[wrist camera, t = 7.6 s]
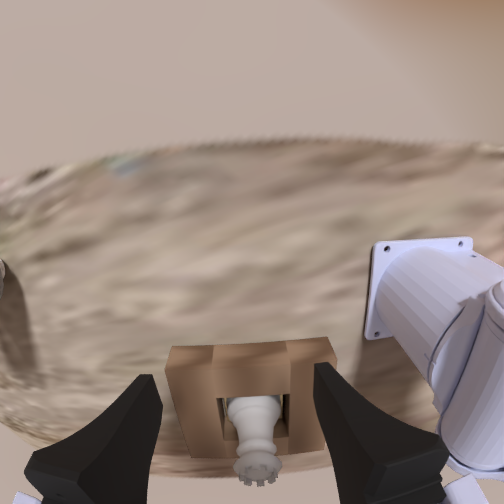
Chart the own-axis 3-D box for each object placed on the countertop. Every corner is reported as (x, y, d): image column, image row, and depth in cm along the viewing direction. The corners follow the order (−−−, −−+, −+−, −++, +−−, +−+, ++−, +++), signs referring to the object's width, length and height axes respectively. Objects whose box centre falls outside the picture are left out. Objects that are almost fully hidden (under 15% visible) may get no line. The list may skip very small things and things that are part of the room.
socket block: (327, 336, 23) (337, 359, 21) (317, 427, 27) (323, 449, 24) (171, 346, 23) (164, 369, 20) (194, 434, 27) (191, 458, 24)
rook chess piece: (251, 423, 25) (255, 497, 17) (214, 398, 24) (209, 477, 16) (291, 398, 24) (306, 475, 17) (255, 370, 23) (262, 452, 15)
